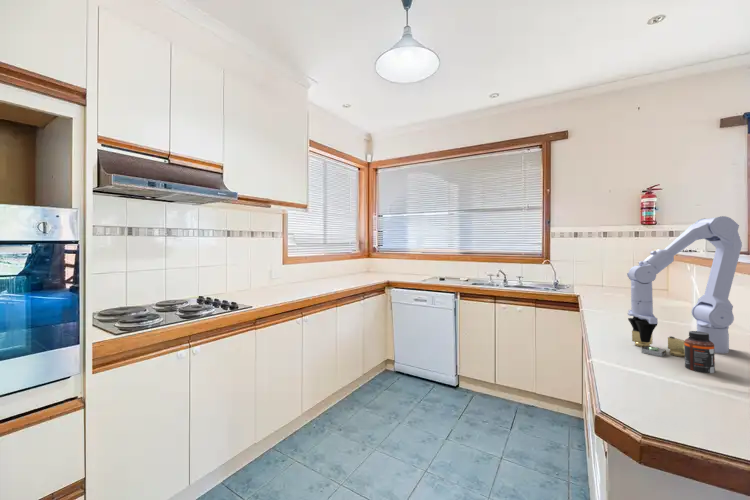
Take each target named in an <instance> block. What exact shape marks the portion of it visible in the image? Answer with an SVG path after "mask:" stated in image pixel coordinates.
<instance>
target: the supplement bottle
mask: <svg viewBox="0 0 750 500" xmlns="http://www.w3.org/2000/svg"><path fill="white" fill-rule="evenodd" d="M684 341H685V342H684V343H685V357H684V367H685V368H686V370H689V371H692V372H697V373H701V374H702V373H703V374H714V373H716V367H715V366H716V363H715V360H716V359H715V358H716V357H715V354H716V353H714V343H713V342H711V341H710V340H709V334H708V333H706V332H700V331H697V330H689V331H688V337H687V338H686V339H684Z"/></svg>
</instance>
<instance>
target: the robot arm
mask: <svg viewBox="0 0 750 500" xmlns="http://www.w3.org/2000/svg"><path fill="white" fill-rule="evenodd" d="M739 228H740V225H739V224H738V222H736V221H735V220H734V219H732V218H731V217H729V216H726V215H725V216H724V215H721V216H717V217H709V218H705V217H704V218H701V219H698V220H696V221H695V222H694V223H692V224H690V225H689V226H688V227H687V228H686V229H685V230H684V231H683V232H682V233H681V234H680V235H678V236H677V237H676V238H675V239H674V240H672V242H671V243H669V244H668V245H667V246H666V247H665V248H664V249H661V248H660V249H656V250H651V251H650V252H649V254H650V255H648V256H647V257H646V258H645V259H643V260H639V262H638V265H633V266H632V267H631V268H629V270H628V273H626V274H627V275H626V276H627V277H628V279H629V280H630V295H631V296H630V298H631V299H630V304H631V306H630V307H631V309H628V311H627V316H629V317H628V318H627V320H628V321H629V323H630V325H631V328H632V331H633V330H637V331H639V333H640V339H641V342H650V339H651V335H652V336H653V331H654V330H655V328H656V327H658V317H656V316H655V315H654V307H653V303H654V302H653V301H654V300H653V282H654V281H656V279H657V275H658V274H659V273H661V271H663V270H665V268H667V267H668V266H670V265H671V264H672V263H674V259H675V258H674V257H675V256H676V255H677V254H679V253H680V252H681V251H683V250H685V249H686V248H687V247H688V246H690V245H692V244H693V243H695V242H696V241H698V240H703V239H704V240H706V241H708V242H709V243H710V244H712V246H713V247H715V252H714V256H713V260H712V264H711V268H710V272H709V276H708V279H707V283H706V287H705V291H704V294H702V296H700V297H699V298H698V300H697V303H696V304H694V306H693V307H692V309H691V315H692V318H693V319H695V320H696V331H700V332H706V333H708V334H709V340H710V341H711V342H713V343H714V354H729V351H730V333H729V329H730V327H729V326H731V325H732V324H733V323H734V321H735V317H734V313H733V308H734V305H733V304H732V303H731V301H730V300H729V296H730V292H731V289H732V284H733V281H734V277H735V274H736V270H737V266H738V262H739V258H740V254H741V250H742V247H743V245H742V244H743V243H742V240H741V236H740V234H739ZM631 316H632V317H631Z"/></svg>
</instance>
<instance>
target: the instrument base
mask: <svg viewBox="0 0 750 500" xmlns="http://www.w3.org/2000/svg"><path fill="white" fill-rule="evenodd" d="M641 354H646V355H650V356H656V357H662V358H663V356H666V355H667V351H666V349H661V348H659V347H657V346H650V347H647V346H646V347H641Z"/></svg>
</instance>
